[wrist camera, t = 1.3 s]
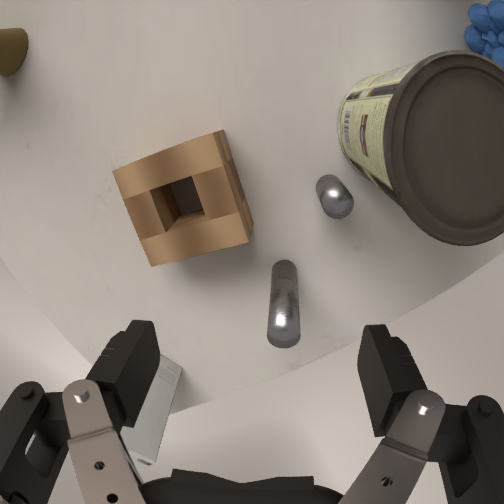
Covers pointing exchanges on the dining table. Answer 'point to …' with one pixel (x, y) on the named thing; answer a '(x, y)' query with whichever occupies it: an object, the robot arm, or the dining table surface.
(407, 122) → the coffee can
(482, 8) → the grapes
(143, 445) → the skincare box
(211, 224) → the collar block
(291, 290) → the long pin
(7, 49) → the cork
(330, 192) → the short pin
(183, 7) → the dining table surface
